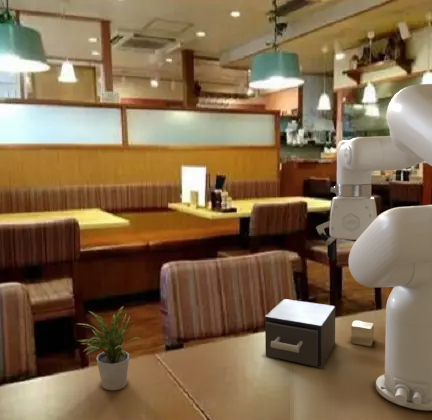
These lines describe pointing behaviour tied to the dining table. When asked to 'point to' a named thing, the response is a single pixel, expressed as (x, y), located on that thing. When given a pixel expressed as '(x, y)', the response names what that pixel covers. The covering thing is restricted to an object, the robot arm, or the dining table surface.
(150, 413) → the dining table surface
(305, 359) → the pull-out drawer
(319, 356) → the drawer cabinet
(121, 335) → the house plant
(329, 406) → the dining table surface
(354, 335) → the cube
